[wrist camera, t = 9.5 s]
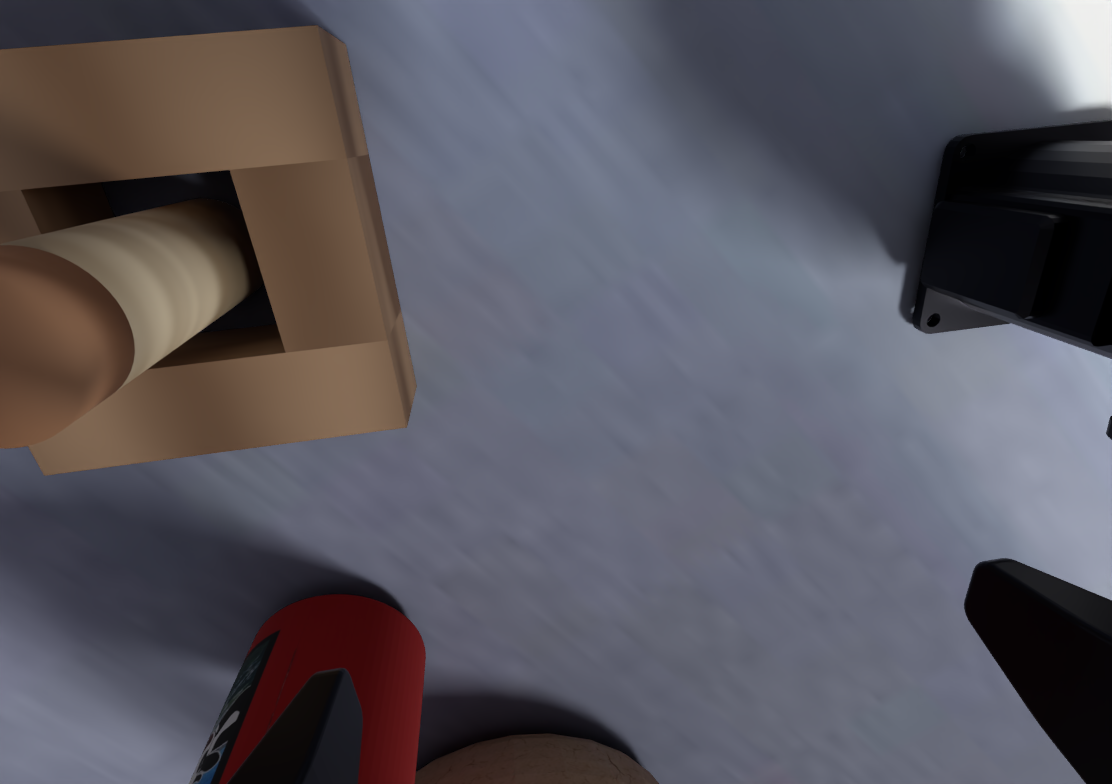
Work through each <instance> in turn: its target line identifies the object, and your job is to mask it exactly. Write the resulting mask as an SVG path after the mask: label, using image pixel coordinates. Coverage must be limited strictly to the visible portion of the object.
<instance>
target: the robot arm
mask: <svg viewBox="0 0 1112 784" xmlns="http://www.w3.org/2000/svg"><path fill="white" fill-rule="evenodd" d="M964 146H966V152H965V155H964V156H963V157H962V158H961V151H962V148H963V147H964ZM931 315H932V318H931V320H930V321H929V322H928V323H927V320H928V317H930V316H931ZM1010 323H1012V324H1015V325H1018V326H1020V327H1023V328H1026V329H1029V330H1032V331H1034V332H1037V333H1040V334H1043V335H1046V336H1049V337H1051V338H1054V339H1057V340H1060V341H1063V342H1065V343H1068V344H1071V345H1074V346H1077V347H1079V348H1082V349H1085V350H1088V351H1091V352H1094V353H1096V354H1099V355H1102V356H1105V357H1108V358H1110V359H1112V120H1104V121H1094V122H1084V123H1074V124H1064V125H1054V126H1044V127H1034V128H1024V129H1014V130H1004V131H994V132H984V133H974V134H964V135H959V136H956V137H955V138H953V139H952V140H951V141H950V142H949V144H948V145H947V146H946V149H945V151H944V155H943V160H942V166H941V171H940V176H939V181H938V187H937V192H936V197H935V203H934V208H933V213H932V218H931V224H930V229H929V234H928V240H927V245H926V250H925V255H924V261H923V266H922V271H921V277H920V282H919V287H918V293H917V298H916V303H915V308H914V314H913V325H914V327H915V328H916V329H918V330H920V331H922V332H924V333H928V334H932V333H940V332H948V331H956V330H963V329H971V328H979V327H986V326H994V325H1002V324H1010ZM1106 434H1107V436H1108V437H1109V438H1110V439H1112V416H1111V417H1110V420H1109V424H1108V428H1107V432H1106ZM964 609H965V613H966V616H967V618H968V620H969V622H970V623H971V625H972V626H973V628H974V629H975V631H976V632H977V634H978V635H979V637H980V638H981V640H982V641H983V643H984V644H985V646H986V647H987V648H988V650H989V651H990V653H991V654H992V656H993V657H994V659H995V660H996V662H997V663H998V665H999V666H1000V668H1001V669H1002V671H1003V672H1004V674H1005V675H1006V677H1007V678H1008V680H1009V681H1010V683H1011V684H1012V686H1013V687H1014V688H1015V690H1016V691H1017V693H1018V694H1019V696H1020V697H1021V699H1022V700H1023V702H1024V703H1025V705H1026V706H1027V708H1028V709H1029V711H1030V712H1031V713H1032V715H1033V716H1034V718H1035V719H1036V720H1037V722H1038V723H1039V725H1040V726H1041V727H1042V729H1043V730H1044V731H1045V732H1046V734H1047V735H1048V736H1049V738H1050V739H1051V740H1052V742H1053V743H1054V744H1055V745H1056V747H1057V748H1058V749H1059V750H1060V752H1061V753H1062V754H1063V755H1064V757H1065V758H1066V759H1067V760H1068V762H1069V763H1070V764H1071V765H1072V767H1073V768H1074V769H1075V770H1076V772H1077V773H1078V774H1079V775H1080V777H1081V778H1082V779H1083V780H1084V782H1085V783H1086V784H1112V600H1109V599H1107V598H1104V597H1102V596H1099V595H1097V594H1095V593H1092V592H1090V591H1087V590H1085V589H1083V588H1080V587H1078V586H1075V585H1073V584H1071V583H1068V582H1066V581H1063V580H1061V579H1059V578H1056V577H1054V576H1051V575H1049V574H1046V573H1044V572H1042V571H1039V570H1037V569H1034V568H1032V567H1030V566H1027V565H1025V564H1022V563H1020V562H1018V561H1015V560H1012V559H1008V558H1001V559H995V560H989V561H983V562H980V563H978V564H977V565H976V566H975V568H974V571H973V574H972V577H971V581H970V584H969V588H968V591H967V594H966V598H965V602H964ZM362 728H363V716H362V709H361V705H360V702H359V699H358V697H357V694H356V691H355V688H354V685H353V682H352V679H351V676H350V674H349V672H348V671H347V670H346V669H345V668H337V669H331V670H325V671H319V672H316V673H315V674H313V675H312V676H311V677H310V678H309V679H308V680H307V682H306V683H305V684H304V686H303V687H302V688H301V689H300V691H299V692H298V693H297V694H296V696H295V697H294V698H293V700H292V701H291V702H290V703H289V705H288V706H287V707H286V708H285V710H284V711H283V712H282V714H281V715H280V716H279V717H278V719H277V720H276V721H275V722H274V724H273V725H272V726H271V728H270V729H269V730H268V731H267V733H266V734H265V735H264V737H263V738H262V739H261V740H260V742H259V743H258V744H257V745H256V747H255V748H254V749H253V751H252V752H251V753H250V754H249V756H248V757H247V758H246V759H245V761H244V762H243V763H242V765H241V766H240V767H239V768H238V770H237V771H236V772H235V773H234V775H233V776H232V777H231V779H230V780H229V781H228V782H227V784H358V776H359V764H360V752H361V740H362Z"/></svg>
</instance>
